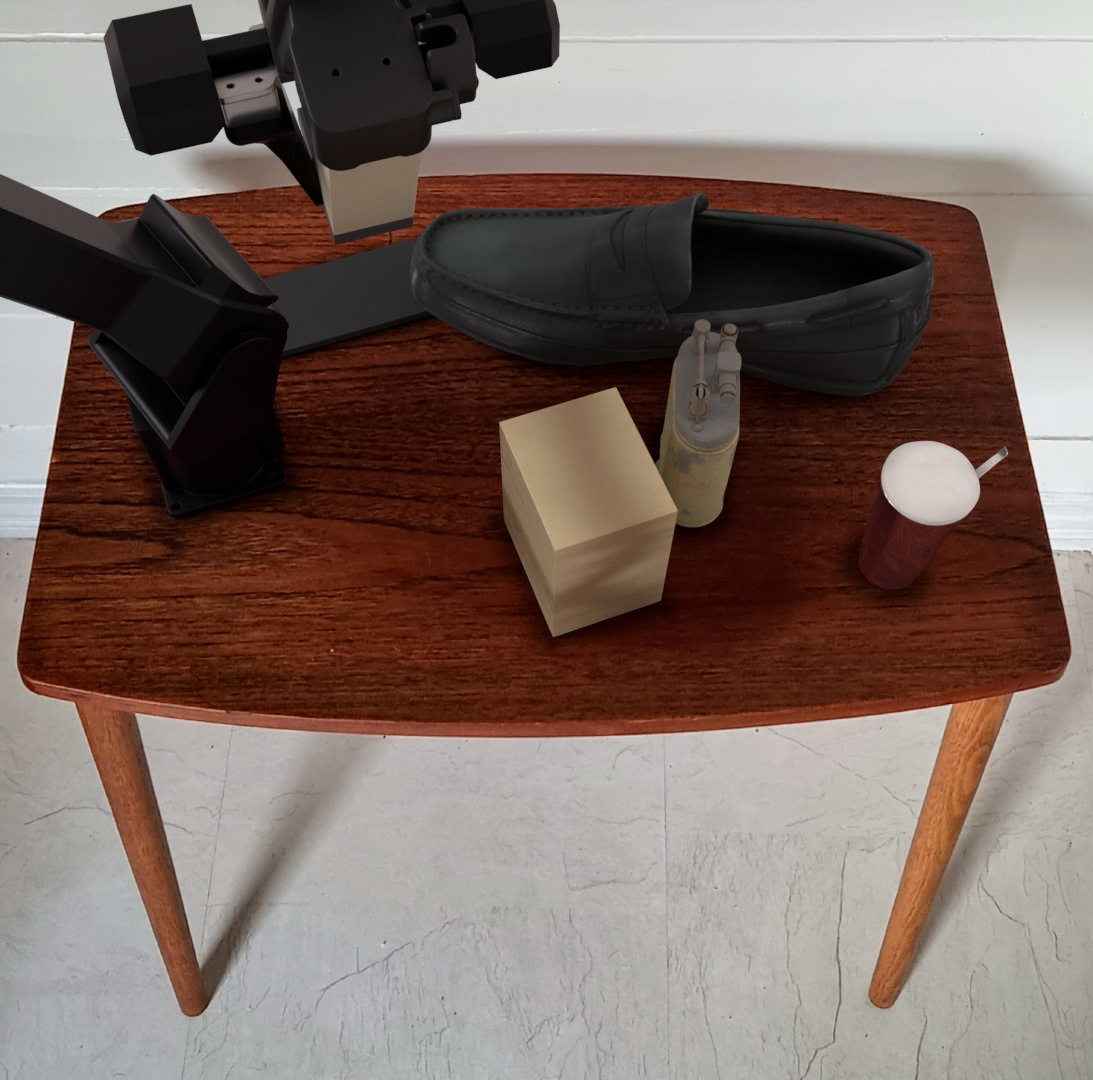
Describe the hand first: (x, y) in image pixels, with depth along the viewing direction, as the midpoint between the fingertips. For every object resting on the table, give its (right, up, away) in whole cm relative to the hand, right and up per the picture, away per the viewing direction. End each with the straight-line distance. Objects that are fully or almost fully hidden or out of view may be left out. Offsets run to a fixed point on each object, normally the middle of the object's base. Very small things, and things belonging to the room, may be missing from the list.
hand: (360, 189), depth 60 cm
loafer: (+16, -5, +13) cm, 21 cm away
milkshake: (+28, -19, +5) cm, 34 cm away
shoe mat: (-4, -3, +13) cm, 14 cm away
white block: (0, +1, +1) cm, 1 cm away
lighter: (+17, -14, +7) cm, 23 cm away
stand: (+11, -18, +5) cm, 22 cm away
